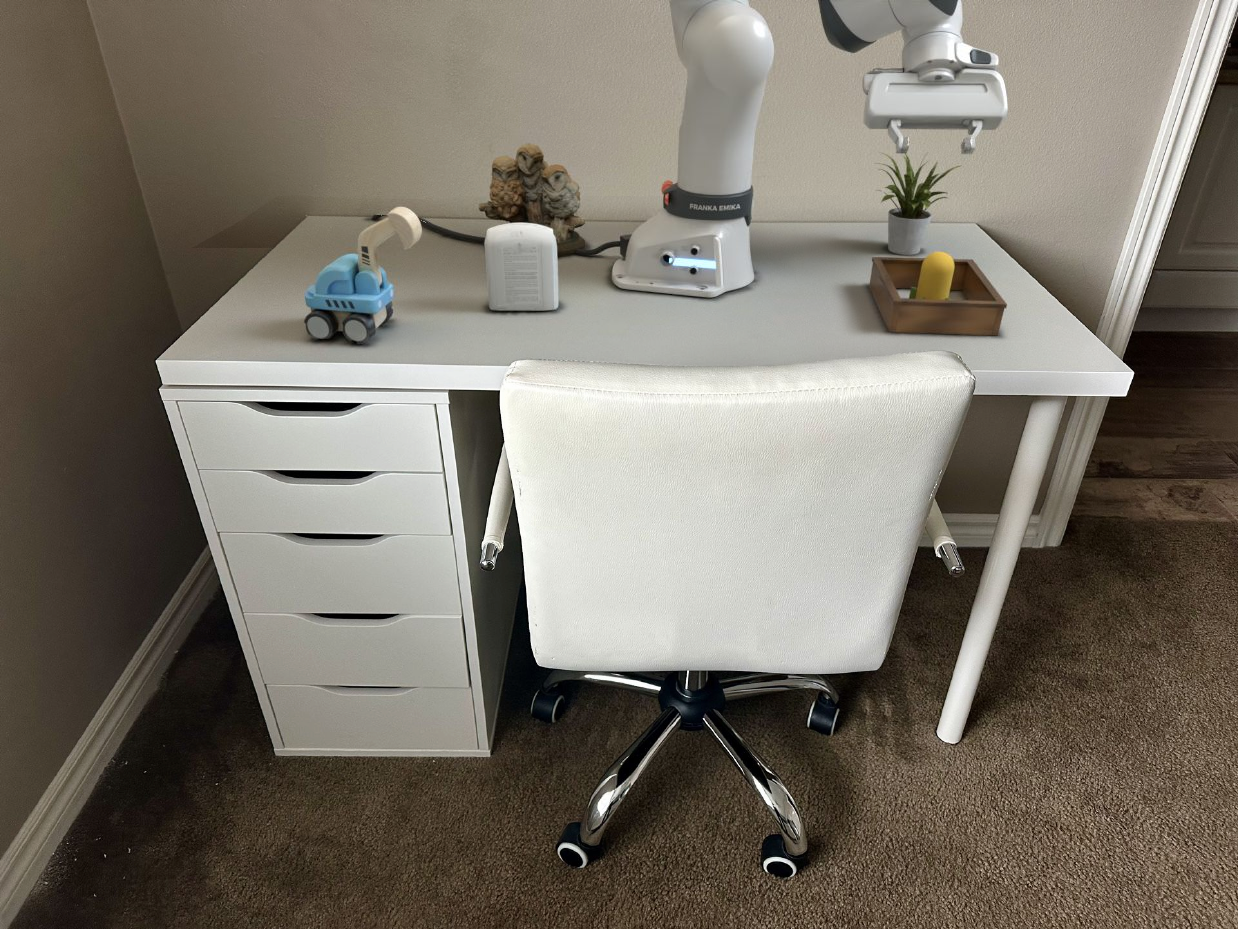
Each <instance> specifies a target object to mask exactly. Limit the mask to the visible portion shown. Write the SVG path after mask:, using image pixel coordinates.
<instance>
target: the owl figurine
mask: <svg viewBox="0 0 1238 929" xmlns="http://www.w3.org/2000/svg"><path fill="white" fill-rule="evenodd" d="M544 158H545V155H544V152H543V151H542V149H541V148H540V146H539V145H537V144H535V143H531V142H527V143H525V144H522V145H521V146H520V147H518V149H517V151H516V155H515V159H514V158H512V157H510V156H509V155H500V156H498V157H496V158H494V159H493V161H492V164H491V180H490V181H491V183H490V184H489V199H490V200H487V202H483V203H478V211H480V212H484V214H485V217H487V218H488V219H490V220H494V221H502V222H506V224H508V223H533V224H538V225H543V226H546V227H549V228H551V229H553V234H554V236H555V238H556V243H557V258H560V257H566V256H567V257H568V256H571V255H573V254H574V251H575V250H576V249H584V250H585V249H586V246H587V244H586V239H585V238H584V237H582V236H581V234H580V232H577V231H575V230H576V229H579V228H581V227H583V226H585V224H586V219H585V218H584V217H582V216H577V215H575V214H576V213H577V212H578V211H579V209H580V207H581V191H579V190H580V189H581V188H580V185H579V183H577V182H576V181H575V180H573V179H572V177H571V175H570V174H569V172H568V171H567V169H566V168H565V166H564V165H561V164H550V165H549V164H548V162H547V161H546V160H545V159H544Z"/></svg>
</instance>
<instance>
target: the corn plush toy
mask: <svg viewBox="0 0 1238 929" xmlns="http://www.w3.org/2000/svg"><path fill="white" fill-rule="evenodd" d="M924 258H925V259H924V261H923V263H922V267H921V272H920V278H919V283H918V288H915V287H911V289H909V290H910V291H909V297H908V299H937V300H953V298H949V296H950V292H951V290H950V287H951V282H952V277H953V273H954V261H953V259H954V258H952V256H951V255H950V254H949V253H947V252H944V251H934V252H932V253H929V254H928V255H927V256H926V257H924Z"/></svg>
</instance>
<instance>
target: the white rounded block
mask: <svg viewBox="0 0 1238 929" xmlns="http://www.w3.org/2000/svg"><path fill="white" fill-rule="evenodd" d="M507 223H508V224H507ZM507 223H503V224H499V225H495V226H491V227H489V228H487V231H486V235H485V243H483V244H484V257H485V258H484V259H485V272H486V287H487V288H486V289H487V300H488V308H489V309H490V310H491V311H555V310H557V309H558V308H559V305H560V304H559V302H560V301H559V268H558V267H559V266H558V262H559V261H558V257H557V243H556V238H555V236H554V234H553V229H551V228H549V227H546V226H543V225H538V224H533V223H510V222H507Z"/></svg>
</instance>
